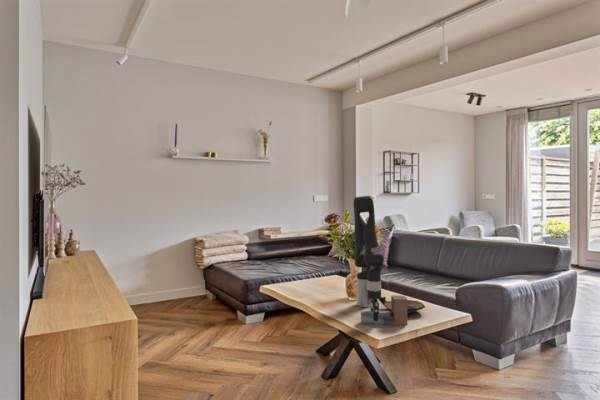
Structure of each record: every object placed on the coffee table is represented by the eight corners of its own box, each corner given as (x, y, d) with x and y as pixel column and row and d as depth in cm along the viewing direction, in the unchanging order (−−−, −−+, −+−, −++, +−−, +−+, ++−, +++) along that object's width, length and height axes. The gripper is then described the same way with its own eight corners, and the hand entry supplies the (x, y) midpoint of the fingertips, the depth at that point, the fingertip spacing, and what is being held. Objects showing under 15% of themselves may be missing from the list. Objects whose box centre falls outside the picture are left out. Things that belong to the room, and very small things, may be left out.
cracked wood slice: (405, 320, 218) (405, 307, 218) (369, 307, 244) (369, 295, 244) (433, 314, 230) (433, 301, 229) (396, 302, 255) (396, 290, 255)
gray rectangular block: (360, 322, 217) (360, 311, 217) (390, 321, 217) (390, 311, 217) (361, 324, 213) (361, 313, 213) (391, 324, 213) (391, 313, 213)
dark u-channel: (382, 320, 219) (382, 295, 219) (403, 320, 219) (403, 295, 219) (385, 325, 211) (384, 299, 211) (407, 325, 211) (407, 299, 211)
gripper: (365, 285, 222) (365, 314, 222) (369, 292, 208) (369, 322, 208) (378, 285, 222) (378, 314, 222) (383, 291, 207) (383, 322, 208)
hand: (374, 318), depth 215 cm, fingers open, 8 cm apart
